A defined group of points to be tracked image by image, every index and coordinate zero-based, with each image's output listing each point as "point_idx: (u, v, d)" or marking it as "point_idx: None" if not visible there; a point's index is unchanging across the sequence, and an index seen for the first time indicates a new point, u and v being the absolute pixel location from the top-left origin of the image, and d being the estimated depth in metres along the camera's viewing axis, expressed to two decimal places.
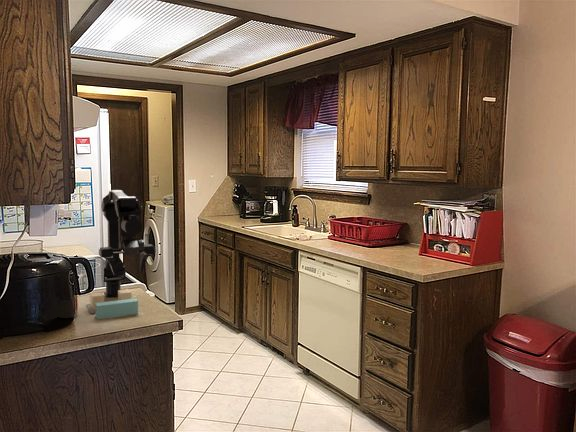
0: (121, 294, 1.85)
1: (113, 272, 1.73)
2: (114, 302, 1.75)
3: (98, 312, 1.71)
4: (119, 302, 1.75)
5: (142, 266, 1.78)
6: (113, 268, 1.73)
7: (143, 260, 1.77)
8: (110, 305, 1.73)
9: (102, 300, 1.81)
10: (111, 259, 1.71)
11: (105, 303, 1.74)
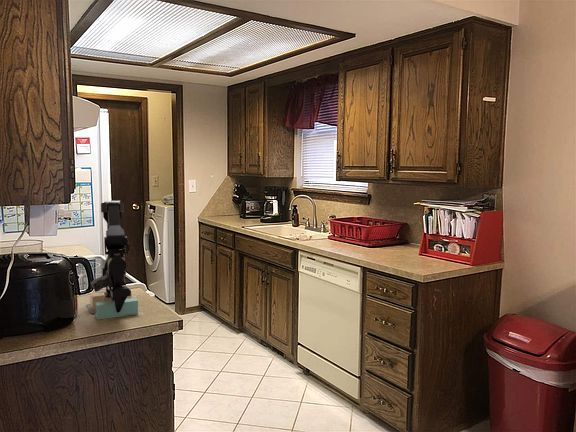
0: None
1: None
2: (114, 302, 1.75)
3: (98, 312, 1.71)
4: None
5: (115, 305, 1.73)
6: None
7: (114, 300, 1.72)
8: (110, 305, 1.73)
9: (102, 300, 1.81)
10: (107, 291, 1.77)
11: (105, 303, 1.74)
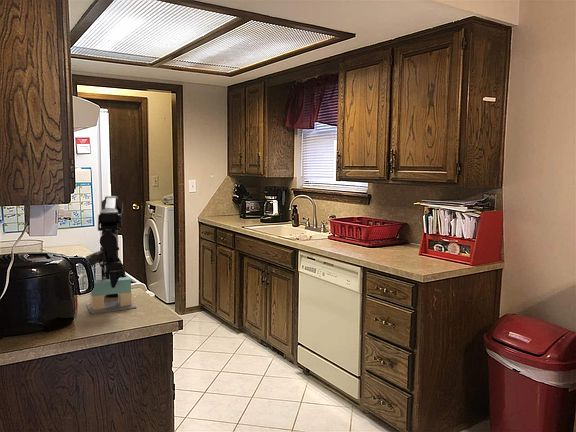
0: (121, 294, 1.85)
1: None
2: (108, 280, 1.84)
3: (93, 289, 1.80)
4: None
5: (110, 281, 1.80)
6: (105, 275, 1.88)
7: (109, 275, 1.79)
8: (104, 282, 1.82)
9: (102, 300, 1.81)
10: None
11: (99, 281, 1.83)
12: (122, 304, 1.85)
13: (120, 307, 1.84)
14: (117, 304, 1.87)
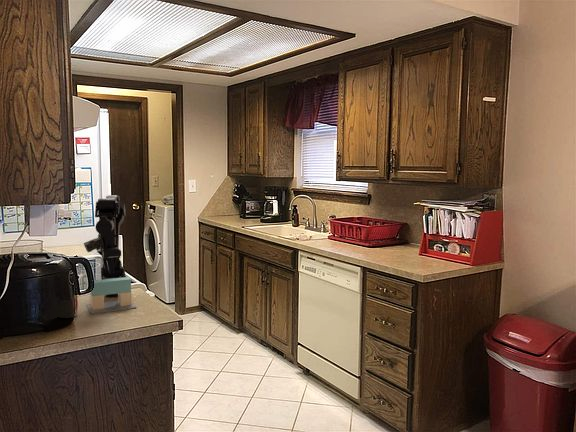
0: (121, 294, 1.85)
1: (104, 265, 1.92)
2: (108, 280, 1.84)
3: (93, 289, 1.80)
4: (113, 280, 1.84)
5: (108, 267, 1.83)
6: (103, 262, 1.91)
7: (106, 261, 1.82)
8: (104, 282, 1.82)
9: (102, 300, 1.81)
10: (98, 252, 1.91)
11: (99, 281, 1.83)
12: (122, 304, 1.85)
13: (120, 307, 1.84)
14: (117, 304, 1.87)
